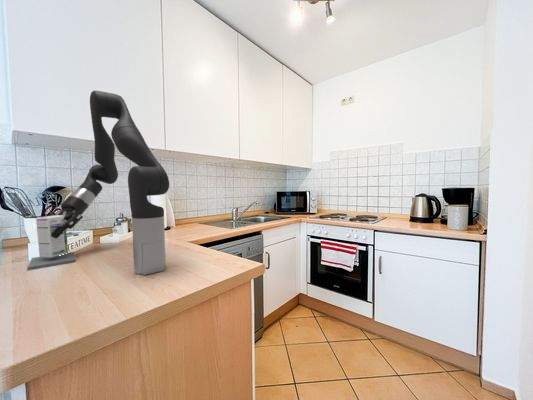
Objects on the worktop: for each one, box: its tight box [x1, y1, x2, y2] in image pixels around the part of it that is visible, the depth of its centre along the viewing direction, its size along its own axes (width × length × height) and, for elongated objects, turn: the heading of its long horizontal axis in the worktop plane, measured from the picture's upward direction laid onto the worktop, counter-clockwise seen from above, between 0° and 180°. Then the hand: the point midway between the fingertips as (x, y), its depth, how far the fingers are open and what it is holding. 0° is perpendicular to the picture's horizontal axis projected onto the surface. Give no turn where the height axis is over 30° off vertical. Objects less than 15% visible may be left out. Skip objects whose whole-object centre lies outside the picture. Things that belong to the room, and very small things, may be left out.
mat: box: [27, 251, 76, 271], centre depth 84 cm, size 14×12×1 cm
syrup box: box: [35, 215, 69, 258], centre depth 83 cm, size 6×6×14 cm
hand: (46, 236), depth 82 cm, fingers closed on syrup box, 6 cm apart
